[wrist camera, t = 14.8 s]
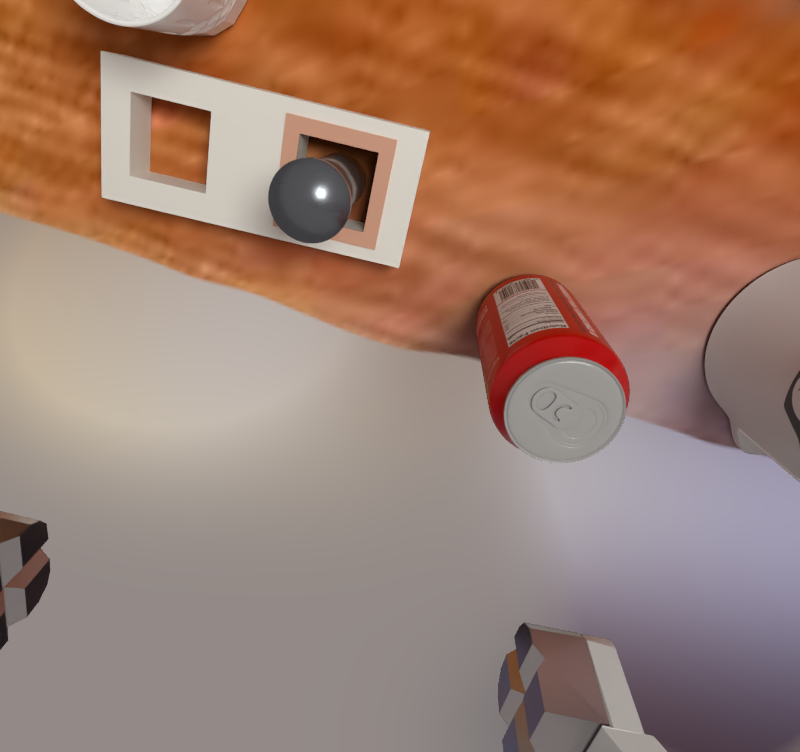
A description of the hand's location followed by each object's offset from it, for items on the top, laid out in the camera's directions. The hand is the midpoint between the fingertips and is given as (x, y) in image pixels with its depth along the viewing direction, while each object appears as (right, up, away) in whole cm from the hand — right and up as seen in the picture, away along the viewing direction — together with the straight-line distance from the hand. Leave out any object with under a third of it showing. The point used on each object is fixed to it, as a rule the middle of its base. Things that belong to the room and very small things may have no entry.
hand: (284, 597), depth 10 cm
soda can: (+12, +8, +34) cm, 37 cm away
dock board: (-7, +19, +30) cm, 37 cm away
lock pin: (-2, +18, +31) cm, 35 cm away
